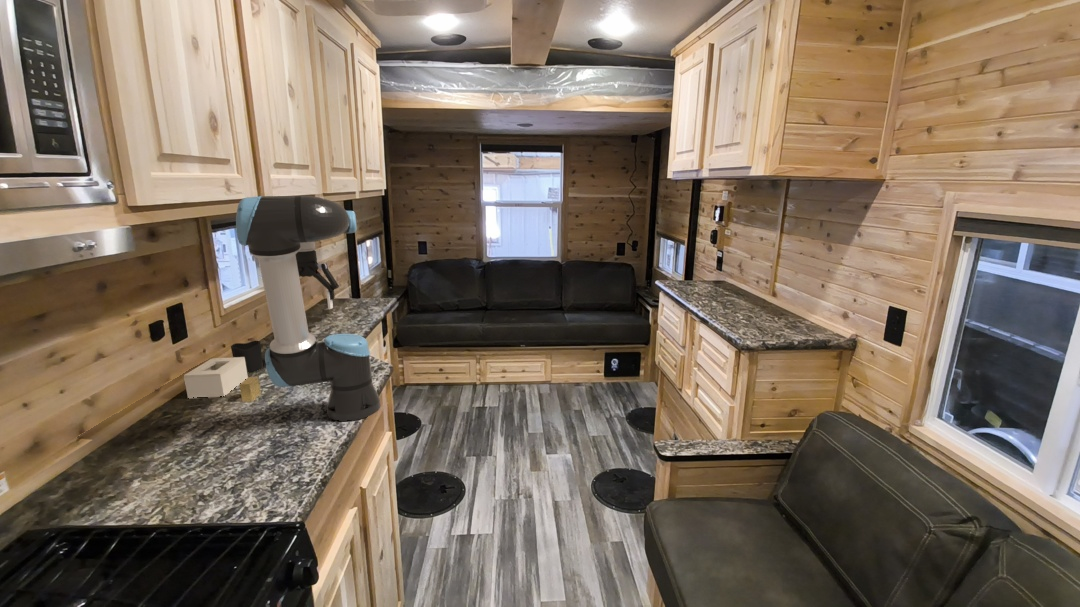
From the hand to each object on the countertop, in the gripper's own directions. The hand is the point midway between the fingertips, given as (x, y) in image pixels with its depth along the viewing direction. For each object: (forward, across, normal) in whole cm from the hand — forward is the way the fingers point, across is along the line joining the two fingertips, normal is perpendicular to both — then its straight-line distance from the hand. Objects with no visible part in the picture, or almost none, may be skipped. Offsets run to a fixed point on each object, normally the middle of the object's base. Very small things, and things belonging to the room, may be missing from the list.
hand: (311, 309), depth 170 cm
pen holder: (+24, +27, -5) cm, 37 cm away
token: (+24, +13, +22) cm, 35 cm away
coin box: (+24, +29, +12) cm, 39 cm away
